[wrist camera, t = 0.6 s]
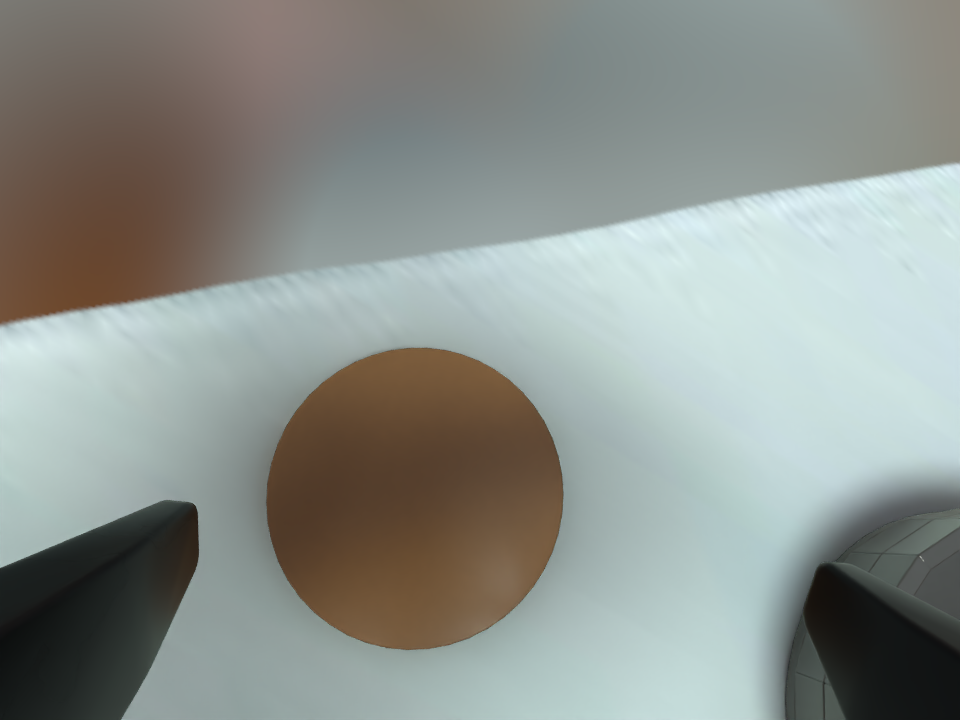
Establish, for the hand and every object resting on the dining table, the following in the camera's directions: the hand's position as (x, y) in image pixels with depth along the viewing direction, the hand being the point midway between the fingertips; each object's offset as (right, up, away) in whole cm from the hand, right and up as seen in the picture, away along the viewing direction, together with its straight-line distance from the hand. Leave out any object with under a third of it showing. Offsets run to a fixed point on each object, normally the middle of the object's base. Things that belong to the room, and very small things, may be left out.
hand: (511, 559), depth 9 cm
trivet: (-3, -2, +15) cm, 15 cm away
